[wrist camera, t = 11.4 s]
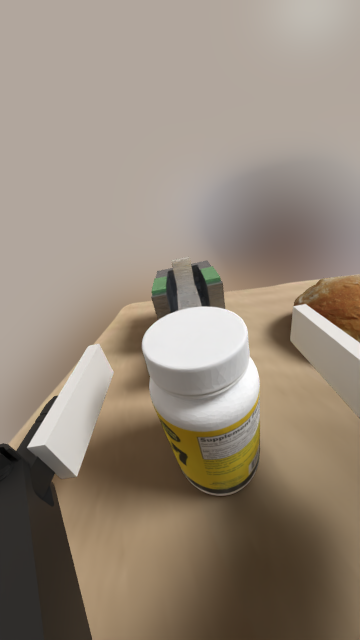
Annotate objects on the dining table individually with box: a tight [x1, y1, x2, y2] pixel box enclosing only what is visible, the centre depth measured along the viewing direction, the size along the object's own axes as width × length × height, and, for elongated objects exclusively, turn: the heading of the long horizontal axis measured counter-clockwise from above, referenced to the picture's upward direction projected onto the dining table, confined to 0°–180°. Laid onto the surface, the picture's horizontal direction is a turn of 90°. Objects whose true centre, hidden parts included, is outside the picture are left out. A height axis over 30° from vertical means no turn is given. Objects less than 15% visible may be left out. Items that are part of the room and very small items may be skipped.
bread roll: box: [294, 275, 360, 342], centre depth 20 cm, size 10×10×8 cm
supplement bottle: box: [142, 307, 260, 496], centre depth 12 cm, size 6×6×10 cm
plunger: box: [172, 257, 202, 311], centre depth 21 cm, size 10×5×9 cm, turn 2°
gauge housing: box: [151, 261, 225, 320], centre depth 27 cm, size 10×8×8 cm
